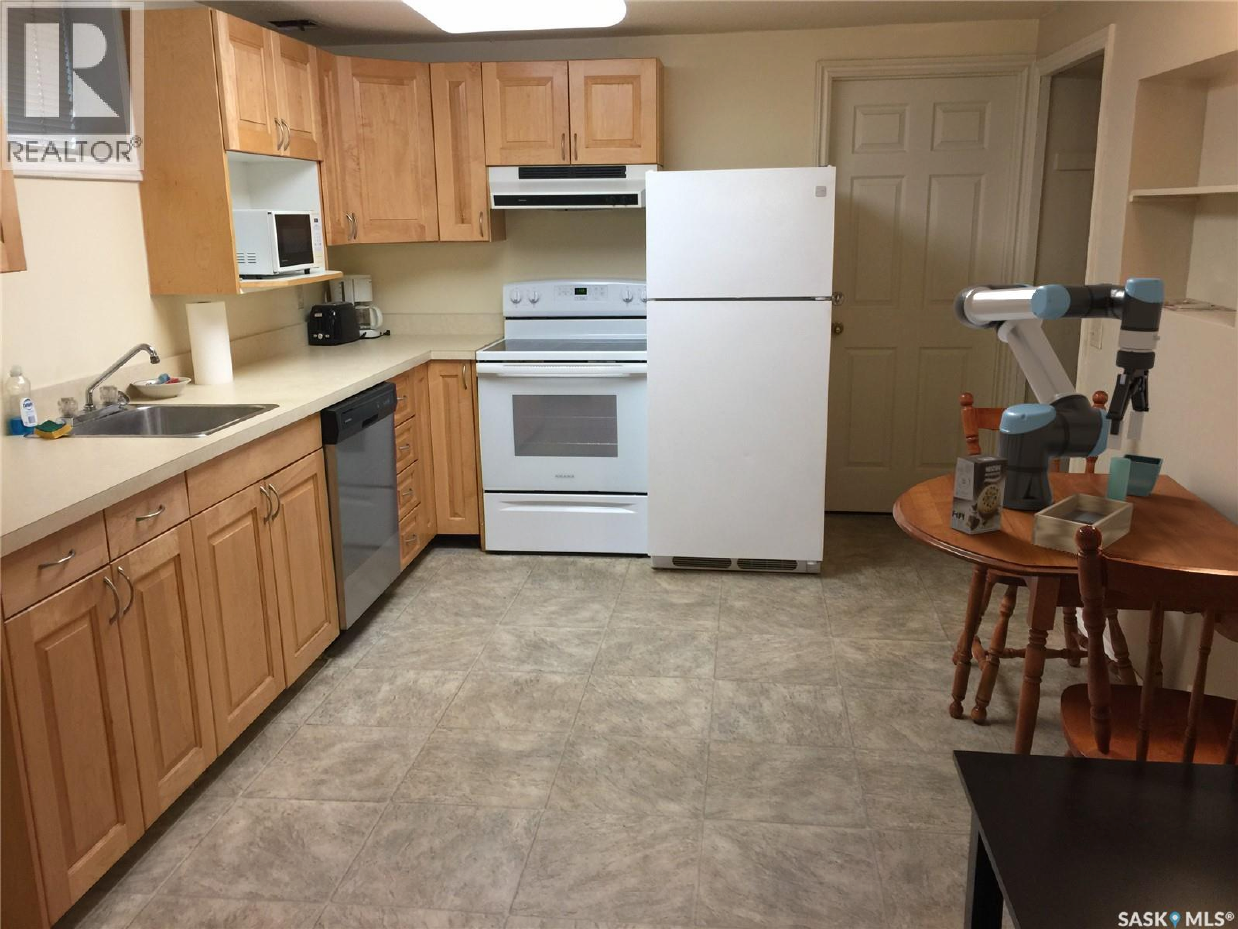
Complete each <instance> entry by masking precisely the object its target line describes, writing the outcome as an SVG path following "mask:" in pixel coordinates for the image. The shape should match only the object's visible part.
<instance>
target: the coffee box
mask: <svg viewBox="0 0 1238 929" xmlns="http://www.w3.org/2000/svg"><path fill="white" fill-rule="evenodd" d="M1007 463H1008V459H1005V458H1002V457H998V456H997V455H992V454H988V453H982V454H975V455H965V456H958V457H957V461H956V468H955V479H954V488H953V496H952V505H951V515H950V523H949V527H950V528H951V529H955V530H957V531H960V532H962V533H964V534H967V535H977V534H983V533H987V532H993V531H994V532H995V531H998V530H1001V523H1002V516H1003V515H1002V514H1003V508H1004V507H1003V498H1004V489H1005V480H1006V471H1007Z"/></svg>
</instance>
